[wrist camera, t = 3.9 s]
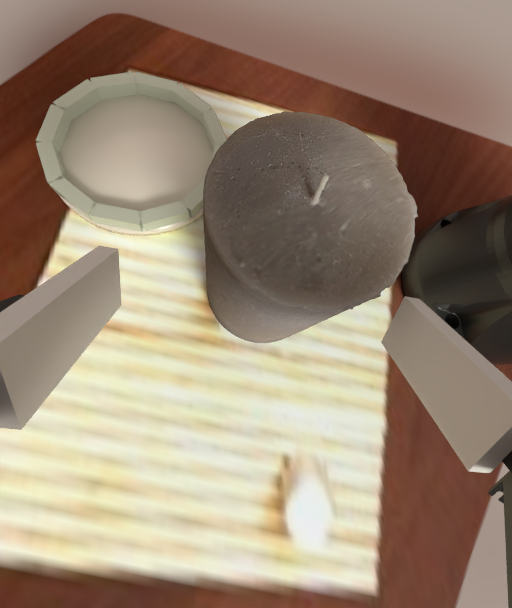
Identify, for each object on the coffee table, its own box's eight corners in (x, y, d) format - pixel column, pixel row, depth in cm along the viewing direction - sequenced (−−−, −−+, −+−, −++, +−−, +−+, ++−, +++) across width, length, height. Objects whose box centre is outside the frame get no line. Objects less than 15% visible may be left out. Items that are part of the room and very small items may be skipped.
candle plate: (238, 113, 29) (240, 95, 28) (212, 250, 25) (212, 240, 23) (79, 75, 28) (69, 53, 26) (23, 216, 24) (6, 202, 22)
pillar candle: (200, 246, 25) (180, 80, 11) (301, 235, 27) (402, 80, 13) (216, 354, 23) (220, 326, 9) (325, 334, 25) (476, 285, 11)
